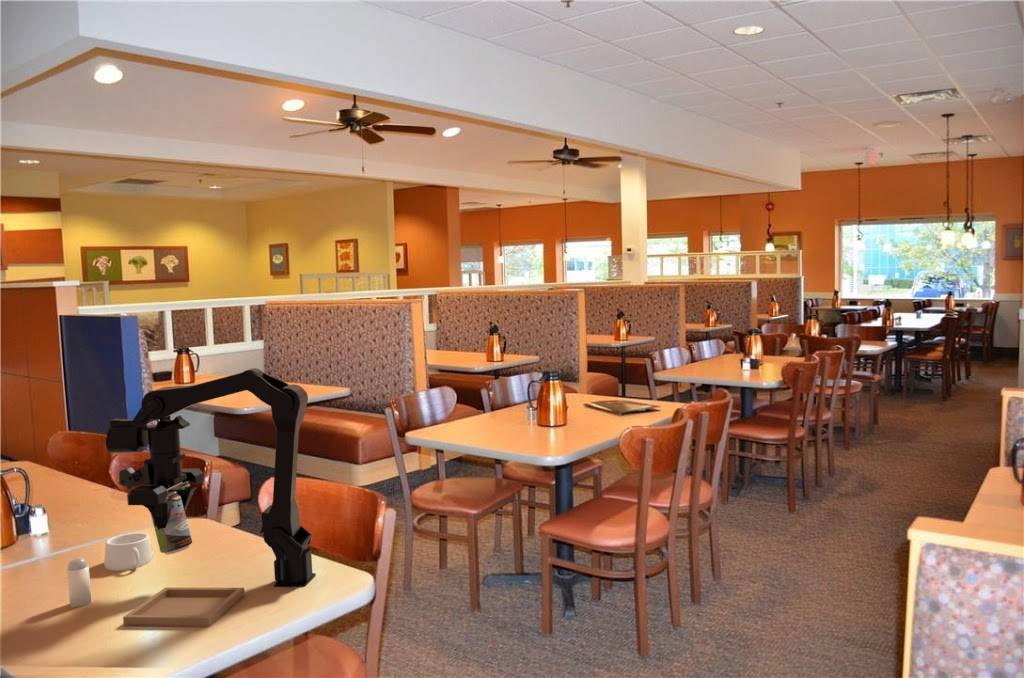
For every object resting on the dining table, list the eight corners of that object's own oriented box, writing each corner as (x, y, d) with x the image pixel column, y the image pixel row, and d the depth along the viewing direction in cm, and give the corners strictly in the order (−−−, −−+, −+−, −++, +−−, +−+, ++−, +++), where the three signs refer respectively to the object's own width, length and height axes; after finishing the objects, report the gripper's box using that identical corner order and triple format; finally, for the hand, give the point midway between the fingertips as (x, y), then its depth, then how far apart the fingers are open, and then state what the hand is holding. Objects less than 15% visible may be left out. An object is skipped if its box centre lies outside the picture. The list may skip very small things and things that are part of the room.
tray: (244, 595, 155) (244, 587, 155) (209, 626, 141) (208, 617, 141) (165, 595, 157) (165, 587, 157) (123, 625, 143) (123, 617, 143)
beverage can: (181, 557, 157) (173, 496, 157) (148, 558, 159) (140, 498, 158) (199, 546, 164) (192, 488, 163) (167, 547, 165) (159, 489, 164)
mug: (99, 566, 176) (97, 539, 176) (146, 555, 183) (144, 529, 182) (114, 579, 167) (112, 551, 167) (163, 567, 173) (161, 540, 173)
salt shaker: (95, 599, 156) (91, 554, 156) (83, 607, 153) (80, 561, 152) (78, 599, 157) (74, 554, 156) (65, 607, 153) (62, 561, 152)
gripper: (152, 442, 170) (157, 515, 171) (97, 462, 152) (103, 543, 153) (202, 441, 169) (207, 514, 170) (153, 461, 151) (159, 543, 152)
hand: (170, 528), depth 161 cm, fingers closed on beverage can, 5 cm apart
